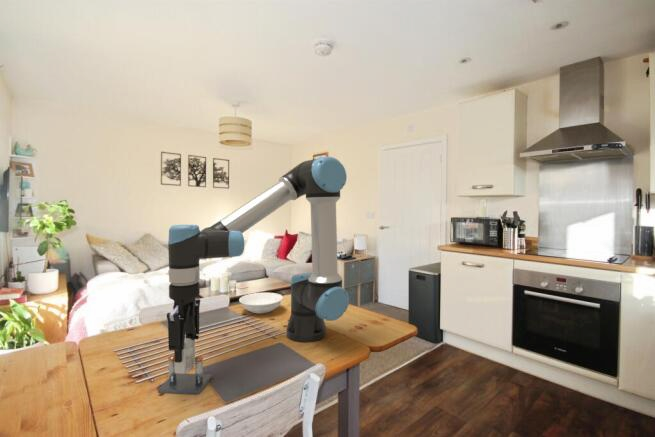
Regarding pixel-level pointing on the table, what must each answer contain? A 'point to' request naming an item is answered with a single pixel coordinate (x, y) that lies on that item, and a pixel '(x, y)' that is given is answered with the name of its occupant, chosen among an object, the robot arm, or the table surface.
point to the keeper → (185, 379)
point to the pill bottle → (189, 354)
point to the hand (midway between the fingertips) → (185, 367)
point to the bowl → (261, 302)
